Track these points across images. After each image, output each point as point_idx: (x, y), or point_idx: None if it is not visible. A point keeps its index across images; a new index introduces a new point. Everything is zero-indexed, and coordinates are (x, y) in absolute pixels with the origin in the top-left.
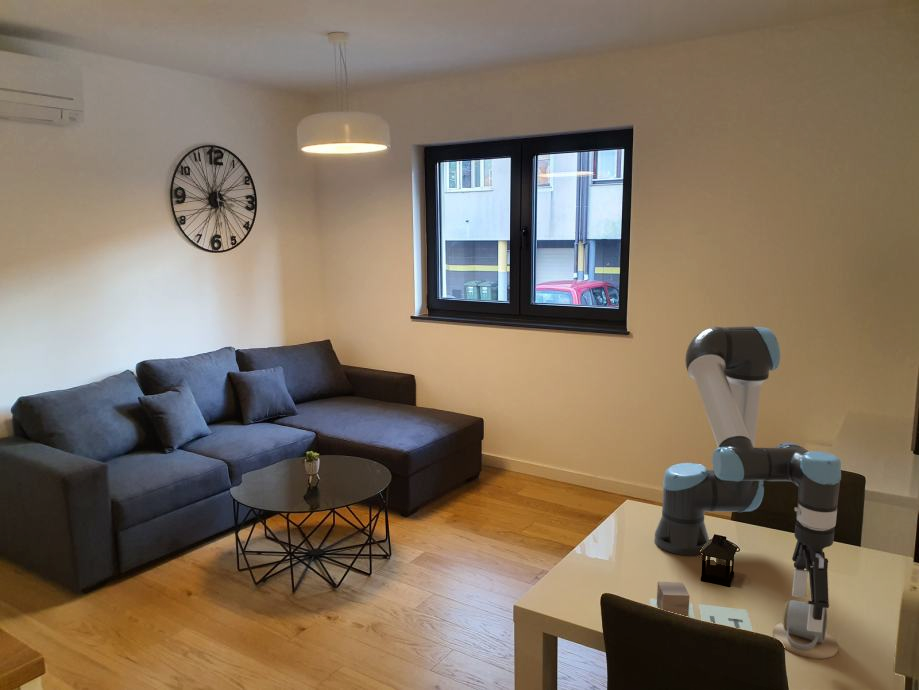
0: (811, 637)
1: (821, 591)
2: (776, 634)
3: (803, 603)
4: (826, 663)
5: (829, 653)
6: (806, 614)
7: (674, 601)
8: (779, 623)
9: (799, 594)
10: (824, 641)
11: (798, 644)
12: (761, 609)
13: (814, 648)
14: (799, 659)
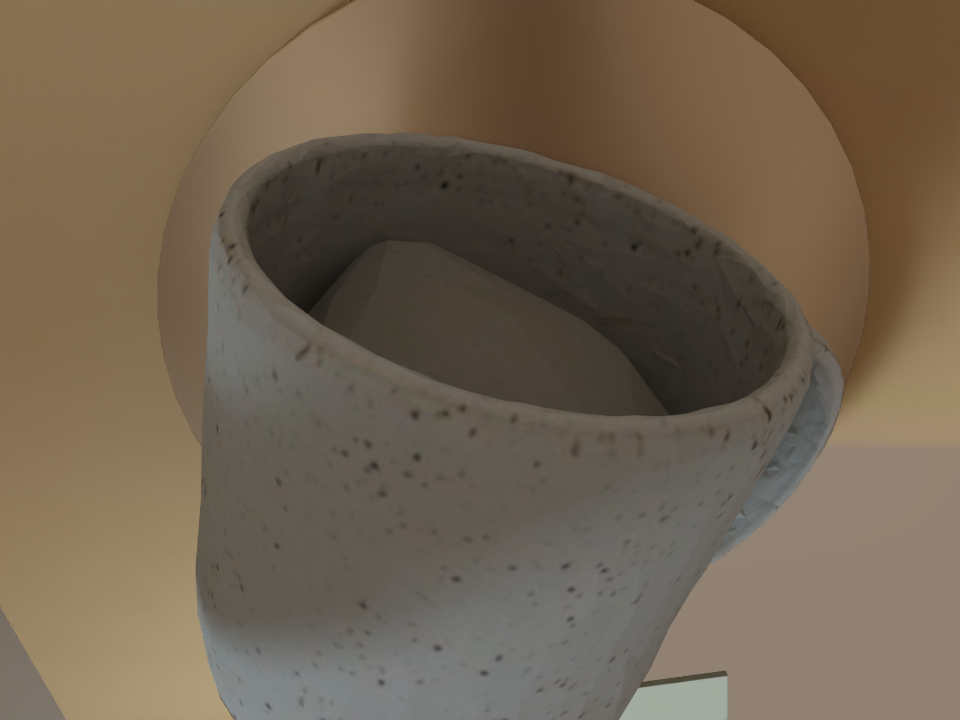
0: (681, 349)
1: None
2: None
3: (424, 706)
4: (926, 141)
5: (780, 104)
6: (670, 617)
7: None
8: None
9: (10, 698)
10: (509, 137)
11: (815, 460)
12: (74, 655)
13: None
14: (890, 391)
